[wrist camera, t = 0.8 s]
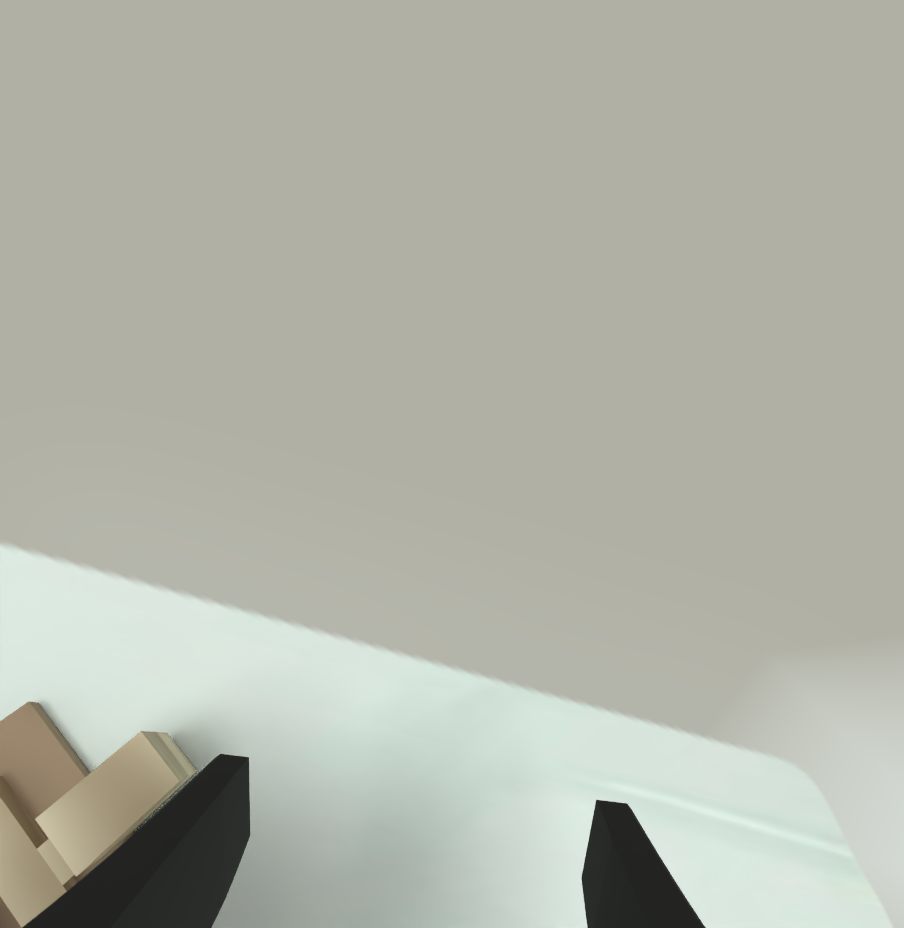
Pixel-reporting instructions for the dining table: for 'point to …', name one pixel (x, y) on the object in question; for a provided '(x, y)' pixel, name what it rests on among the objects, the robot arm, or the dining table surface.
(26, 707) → the block
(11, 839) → the wooden knob frame
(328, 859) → the dining table surface
